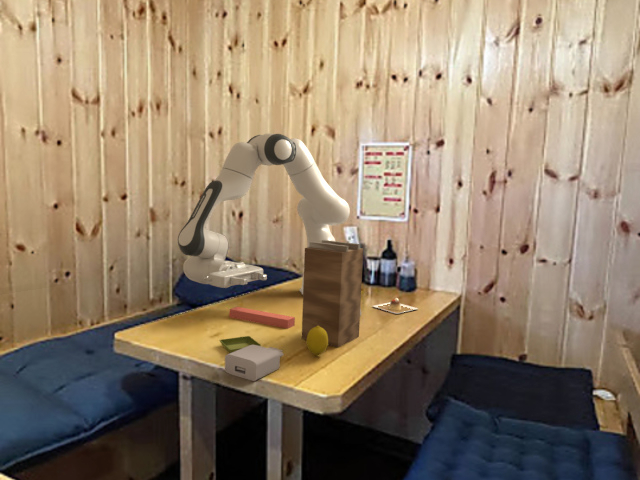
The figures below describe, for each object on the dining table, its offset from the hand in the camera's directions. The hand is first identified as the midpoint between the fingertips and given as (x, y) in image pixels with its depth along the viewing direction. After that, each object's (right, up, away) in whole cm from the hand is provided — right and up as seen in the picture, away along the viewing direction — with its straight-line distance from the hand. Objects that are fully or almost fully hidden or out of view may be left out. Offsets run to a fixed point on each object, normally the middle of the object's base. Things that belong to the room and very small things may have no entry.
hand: (255, 279), depth 156 cm
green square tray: (-1, -17, -25) cm, 30 cm away
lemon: (+19, -18, -29) cm, 39 cm away
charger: (+6, -18, -38) cm, 42 cm away
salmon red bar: (+2, -14, +1) cm, 14 cm away
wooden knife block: (+23, -16, -13) cm, 31 cm away
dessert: (+47, -13, +23) cm, 54 cm away
